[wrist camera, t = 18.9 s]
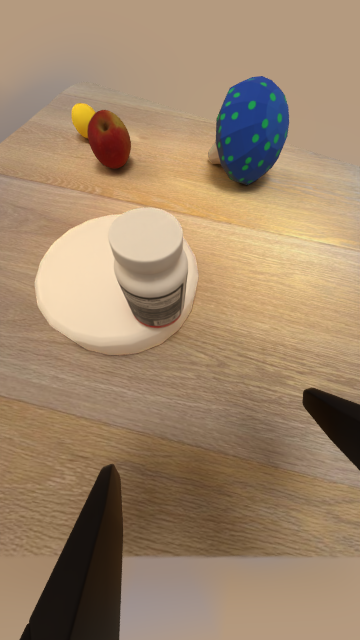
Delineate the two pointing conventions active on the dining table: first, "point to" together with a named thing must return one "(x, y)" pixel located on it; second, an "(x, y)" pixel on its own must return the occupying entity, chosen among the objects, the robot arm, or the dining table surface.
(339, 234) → the dining table surface
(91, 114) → the lemon
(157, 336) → the container
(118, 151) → the apple
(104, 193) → the dining table surface
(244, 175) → the green-spotted blue ball
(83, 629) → the robot arm
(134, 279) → the pill bottle
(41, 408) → the dining table surface
